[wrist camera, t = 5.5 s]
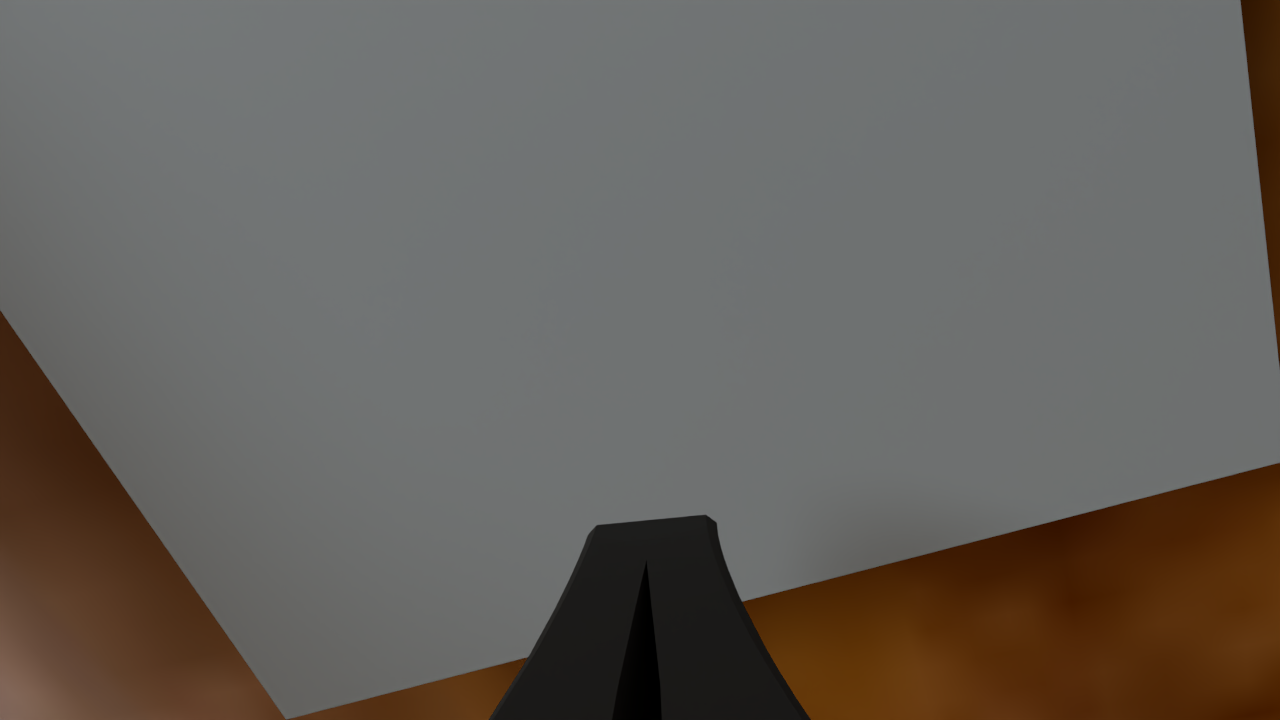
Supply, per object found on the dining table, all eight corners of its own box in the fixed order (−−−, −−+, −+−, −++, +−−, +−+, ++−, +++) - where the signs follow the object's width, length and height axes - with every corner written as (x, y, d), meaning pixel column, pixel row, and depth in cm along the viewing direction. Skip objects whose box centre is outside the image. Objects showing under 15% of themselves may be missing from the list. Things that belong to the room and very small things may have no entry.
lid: (295, 693, 21) (286, 719, 20) (-281, -150, 14) (-317, -143, 14) (1270, 437, 18) (1289, 460, 17) (1130, -789, 11) (1153, -812, 11)
